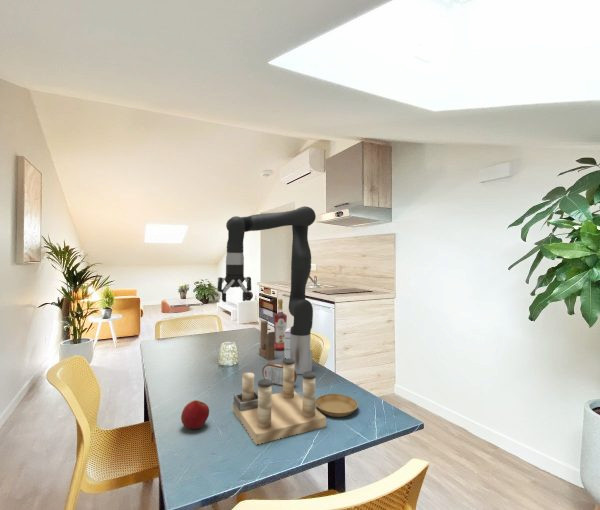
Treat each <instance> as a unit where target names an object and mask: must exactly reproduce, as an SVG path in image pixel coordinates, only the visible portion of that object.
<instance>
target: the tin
mask: <svg viewBox="0 0 600 510" xmlns="http://www.w3.org/2000/svg"><path fill="white" fill-rule="evenodd" d="M261 372H262V377H263V379H269V380H271V381H272V385H276V386H280V387H283V363H280V362H273V361H271V362H268V363H266V364H265V365H264V366H263V368H262V371H261ZM297 376H298V374H296V371H295V370H294V384H295V383H296V381H297V378H298V377H297Z"/></svg>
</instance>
